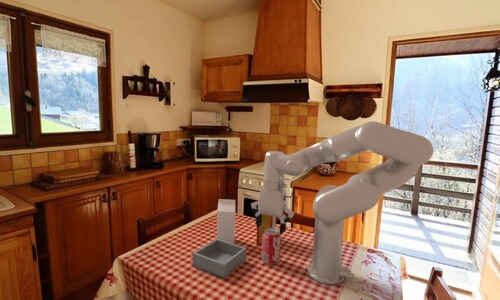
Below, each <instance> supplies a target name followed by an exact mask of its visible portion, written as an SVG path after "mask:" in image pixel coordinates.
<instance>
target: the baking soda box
mask: <svg viewBox="0 0 500 300" xmlns="http://www.w3.org/2000/svg"><path fill="white" fill-rule="evenodd" d="M261 215H262V225H261V226H259V227H256V245H257V246H262V236H263V233H264V230H265V229H266V228H276V229H277V217H273V216H270V215H266V214H261Z"/></svg>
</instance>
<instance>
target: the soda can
mask: <svg viewBox="0 0 500 300" xmlns="http://www.w3.org/2000/svg"><path fill="white" fill-rule="evenodd" d="M281 245H282V234H280V229H278V228H277V227H276V228H266V229H265V230H264V233H263V236H262V245H261V259H262V261H263V262H264V263H265V264H266V265H276V264H277V263H279V262H280V259H281V251H282V250H281V248H282V247H281Z"/></svg>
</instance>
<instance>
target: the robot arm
mask: <svg viewBox="0 0 500 300" xmlns="http://www.w3.org/2000/svg"><path fill="white" fill-rule="evenodd" d="M368 151H369V152H372V153H374V154H377V155H379V156H382V157H385V158H388V159H387V160H385V161H384V162H382V163H380V164H378V165H376V166H373V167H372V168H369V169H366V170H364V171H362V172H359V173H356V174H353V175H352V176H351V177H349V179H348V180H347V181H346V183H343V184H342V185H340V186H337V185H334V184H328V185H325V186H322V187H321V188H320V189H319V190H318V192H317V193H316V195H315V198H314V200H313V202H312V203H313V204H312V210H313V211H312V212H313V213H314V216H315V217H314V229H313V230H314V231H313V243H312V244H313V246H312V258H311V260H312V262H311V263H309V264H308V265H307V268H306V269H307V272H306V273H307V274H308V277H310V278H311V279H313V280H314V281H316V282H318V283H321V284H324V285H339V284H341V283H343V281H344V280H345V278H346V279H350V280H354V277H355V273H353V272H352V269H350V268H345V267H344V264H343V263H344V262H343V261H342V252H343V238H344V229H345V228H344V226H345V220H347V219H349V218H351V217H352V218H353V217H355V216H357V215H360V214H363V213H366V212H368V211H369V210H371V209H373V208H374V207H376V206H377V204H378V203H379V201H380V197H381V195H383V194H386V193H388V192H391V191H393V190H394V189H397V188H399V187H401V186H403V185H406V183H408V182H410V180H412V179H413V177H414V176H415V175H416V174H417V173H418V171H419V169H420V166H422V165H424V164H426V163H428V162H429V161H430V160H431V158H432V157H433V155H434V146H433V144H432V142H431V141H430V140H429V139H428V138H427V137H425V136H423V135H420V134H417V133H414V132H410V131H406V130H403V129H400V128H396V127H393V126H390V125H387V124H385V123H382V122H378V121H374V120H373V121H367V122H364V123H362V124H360V125H356V126H354V127H351V128H350V129H346V130H345V131H342V132H339V133H337V134H335V135H331V136H329V137H327V138H324V140H321V141H320V142H317V143H316V144H313V145H311V146H308V147H306V148H303V149H301V150H298V151H296V152H293V153H290V154H285V153H284V152H282V151H276V150H272V151H271V150H270V151H267V152H266V153H265V156H264V167H263V182H262V183H263V184H262V186H261V188H260V191H259V195H258V196H259V197H258V200H257V201H254V202H252V203H250V205H251V209H252V212H253V213H254V216H255V224H256V228H257V227H259V226H261V225H262V215H261V214H266V215H270V216H273V217H276V218H277V219H279V220H280V222H281V223H279V231H280V232H279V233H280V235H282V234H284V233H285V232H286V230H287V229H286V228H287V223H288V222H290V221H291V220H292V218H293V217H294V216H295V212H294V211H293V210H292V209H290V208H289V207H288V206H287V204H288V203H287V191H286V189H287V188H288V184H286V183H285V175H287V176H292V177H297V176H300V175H301V174H303V173H304V172H305V171H306V170H308V169H311V168H314V167H317V166H319V165H322V164H326V163H333V162H334V163H336V162H340V161H341V162H342V161H344V160H346V159H349V158H351V157H354V156H356V155H359V154H361V153H362V154H363V153H365V152H368ZM286 214H288V216H286Z"/></svg>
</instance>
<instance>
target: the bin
mask: <svg viewBox="0 0 500 300" xmlns="http://www.w3.org/2000/svg"><path fill="white" fill-rule="evenodd" d="M246 261H247V247H244V246H241V245H238V244H235V243H234V244H232V243H229V242H226V241H223V240H220V239H217V238H215V239H214V240H212V241H210V242H208V243H207V244H205V245H204V246H202V247H200V248H198V249H197V250H196V251H193V252H192V265H191V266H192V267H193V268H196V269H198V270H201V271H203V272H205V273H208V274H210V275H213V276H215V277H217V278H220V279H223V280H225V279H226V278H227V277H228V276H230V275H231V274H232V273H233V272H234V271H236V270H237V269H238V268H239V267H240V266H241V265H243V264H244V263H245V262H246Z"/></svg>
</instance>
